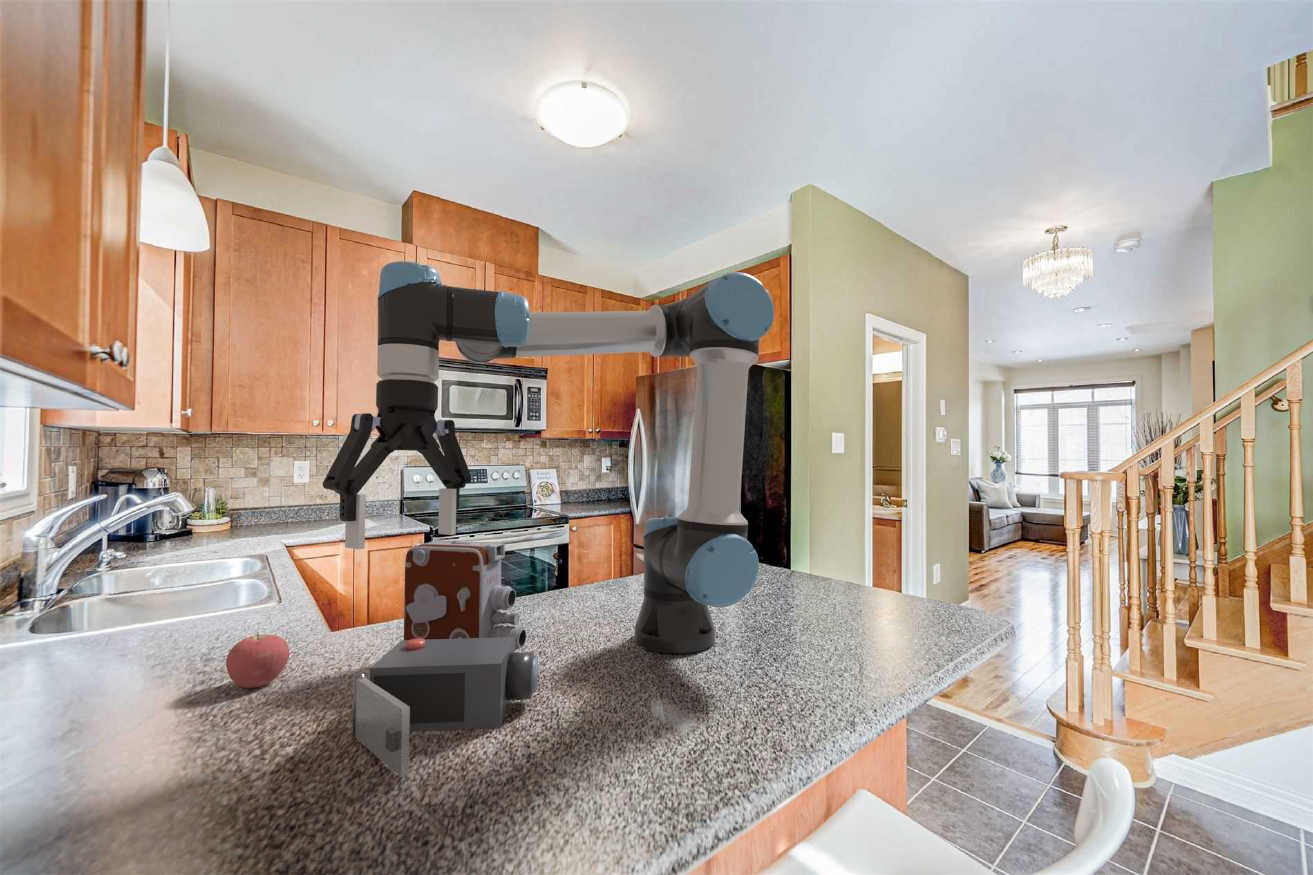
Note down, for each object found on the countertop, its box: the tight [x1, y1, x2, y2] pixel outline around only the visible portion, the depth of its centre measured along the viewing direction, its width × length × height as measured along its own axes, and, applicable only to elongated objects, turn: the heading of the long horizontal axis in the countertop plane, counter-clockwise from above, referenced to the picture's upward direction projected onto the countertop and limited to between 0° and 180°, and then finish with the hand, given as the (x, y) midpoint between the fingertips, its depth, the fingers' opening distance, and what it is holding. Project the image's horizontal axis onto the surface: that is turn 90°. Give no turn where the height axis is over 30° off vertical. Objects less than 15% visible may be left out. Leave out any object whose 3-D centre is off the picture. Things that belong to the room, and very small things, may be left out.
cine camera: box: [403, 540, 527, 650], centre depth 88 cm, size 9×19×20 cm, turn 78°
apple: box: [225, 630, 290, 689], centre depth 79 cm, size 7×7×8 cm
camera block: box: [369, 637, 539, 733], centre depth 71 cm, size 20×10×9 cm, turn 95°
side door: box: [352, 671, 410, 778], centre depth 60 cm, size 13×2×7 cm, turn 50°
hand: (404, 540), depth 70 cm, fingers open, 13 cm apart
